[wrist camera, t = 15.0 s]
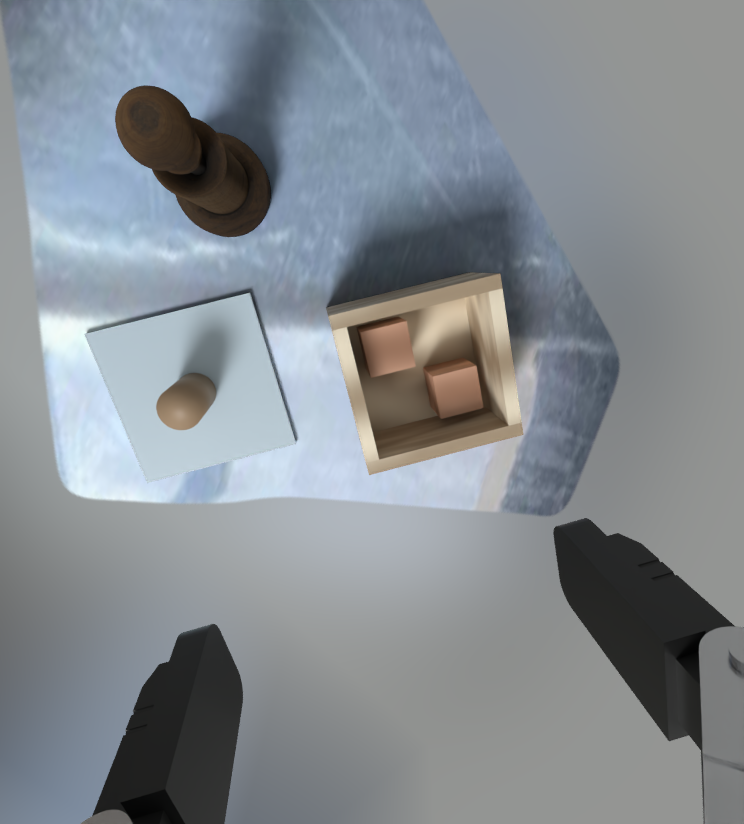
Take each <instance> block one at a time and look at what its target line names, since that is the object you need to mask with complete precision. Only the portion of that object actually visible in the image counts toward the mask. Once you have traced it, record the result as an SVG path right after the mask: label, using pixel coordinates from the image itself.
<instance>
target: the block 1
mask: <svg viewBox="0 0 744 824" xmlns="http://www.w3.org/2000/svg"><path fill="white" fill-rule="evenodd" d="M356 328H357V332H358V336H359V340H360V344H361V349H362V353H363V357H364V361H365V365H366V369H367V371H368V373H369V375H370V377H371V378H373V377H377V376H380V375H384V374H388V373H392V372H396V371H400V370H404V369H408V368H412V367H416V365H415V360H414V355H413V351H412V346H411V341H410V336H409V331H408V326H407V321H405V320H404V319H402V318H400V317H399V316H398V317H394V318H390V319H386V320H382V321H378V322H374V323H370V324H366V325H362V326H358V327H356Z"/></svg>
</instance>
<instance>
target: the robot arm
mask: <svg viewBox="0 0 744 824" xmlns="http://www.w3.org/2000/svg"><path fill="white" fill-rule="evenodd" d="M554 541H555V548H556V556H557V562H558V570H559V577H560V583H561V586H562V589H563V592H564V595H565V597H566V599H567V601H568V603H569V605H570V606H571V608H572V609H573V611H574V612H575V613H576V615H577V616H578V618H579V619H580V620H581V622H582V623H583V624H584V626H585V627H586V628H587V630H588V631H589V632H590V634H591V635H592V637H593V638H594V639H595V641H596V642H597V644H598V645H599V646H600V648H601V649H602V650H603V652H604V653H605V654H606V656H607V657H608V659H609V660H610V661H611V663H612V664H613V665H614V667H615V668H616V669H617V671H618V672H619V674H620V675H621V676H622V678H623V679H624V680H625V682H626V683H627V684H628V686H629V687H630V688H631V690H632V691H633V693H634V694H635V695H636V697H637V698H638V699H639V700H640V702H641V704H642V705H643V706H644V708H645V709H646V710H647V712H648V713H649V714H650V716H651V717H652V719H653V720H654V721H655V723H656V724H657V725H658V727H659V728H660V729H661V731H662V732H663V734H664V735H665V736H666V738H667V739H668V740H669V741H671V740H674V739H678V738H681V737H684V736H687V735H689V736H690V737H691V738H692V740H693V741H694V742H695V743H696V745H697V746H698V747H699V749H700V750H701V769H702V797H703V824H744V627H736V626H734V625H733V624H732V623H731V622H729V621H728V620H727V619H726V618H725V617H724V616H723V615H722V614H720V613H719V612H718V611H717V610H716V609H715V608H714V607H713V606H711V605H710V604H709V603H708V602H707V601H706V600H705V599H703V598H702V597H701V596H700V595H699V594H698V593H697V592H695V591H694V590H693V589H692V588H691V587H690V586H689V585H688V584H687V583H685V582H684V581H683V580H682V579H681V578H679V576H677V575H674V573H673V571H672V570H670V568H668V567H667V566H666V565H665V564H664V563H663V562H660V561H659V559H658V558H657V557H656V556H655V555H654V554H653V553H651V552H650V551H649V550H648V549H647V548H646V547H644V546H643V545H642V544H641V543H639V542H637V541H634V540H632V539H630V538H628V537H625V536H623V535H621V534H619V533H617V534H613V535H610V536H606V535H605V534H604V533H603V532H602V531H601V530H600V529H599V528H598V527H597V526H596V525H595V524H594V523H593V522H592V521H591V520H589V519H587V518H584V519H581V520H577V521H574V522H570V523H567V524H564V525H560V526H556V527H555V528H554ZM242 703H243V690H242V682H241V678H240V674H239V672H238V669H237V667H236V665H235V663H234V661H233V658H232V656H231V654H230V652H229V649H228V647H227V645H226V643H225V640H224V638H223V636H222V634H221V631H220V630H219V628H218V627H217V625H215V624H211V625H208V626H204V627H201V628H197V629H194V630H190V631H187V632H183V633H181V634H180V635H179V636H178V638H177V640H176V643H175V646H174V649H173V652H172V655H171V658H170V660H169V662H166V663H162V664H159V665H158V667H157V668H156V670H155V671H154V672H153V673H152V675H151V676H150V678H149V679H148V680H147V681H146V683H145V684H144V686H143V687H142V689H141V692H140V694H139V697H138V700H137V702H136V705H135V707H134V710H133V712H134V714H133V715H132V716H131V718H130V720H129V723H128V725H127V728H126V735H124V736H123V738H122V741H121V743H120V746H119V748H118V751H117V754H116V757H115V759H114V761H113V764H112V767H111V769H110V772H109V774H108V777H107V780H106V782H105V785H104V787H103V790H102V793H101V795H100V797H99V800H98V803H97V805H96V808H95V810H94V813H93V815H92V817H90V818H88V819H87V820H85V821H84V822H82V823H81V824H224V822H225V816H226V809H227V802H228V796H229V789H230V783H231V776H232V769H233V763H234V756H235V750H236V743H237V736H238V729H239V723H240V717H241V710H242Z"/></svg>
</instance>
